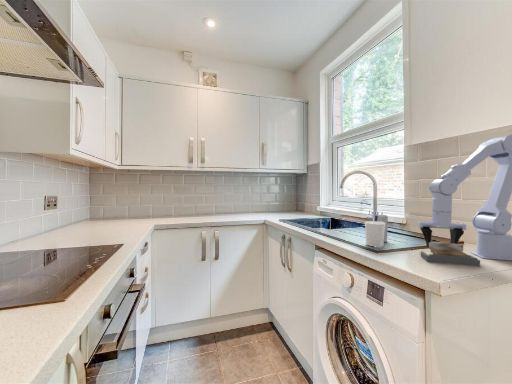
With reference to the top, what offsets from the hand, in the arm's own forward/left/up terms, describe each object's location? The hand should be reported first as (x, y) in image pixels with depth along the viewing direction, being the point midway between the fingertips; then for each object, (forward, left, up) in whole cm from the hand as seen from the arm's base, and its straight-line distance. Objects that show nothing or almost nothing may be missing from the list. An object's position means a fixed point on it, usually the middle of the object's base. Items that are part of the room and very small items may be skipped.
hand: (440, 247), depth 91 cm
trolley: (0, +7, -2) cm, 7 cm away
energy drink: (+17, -18, -3) cm, 25 cm away
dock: (0, +4, -3) cm, 5 cm away
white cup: (+21, -8, -3) cm, 23 cm away
